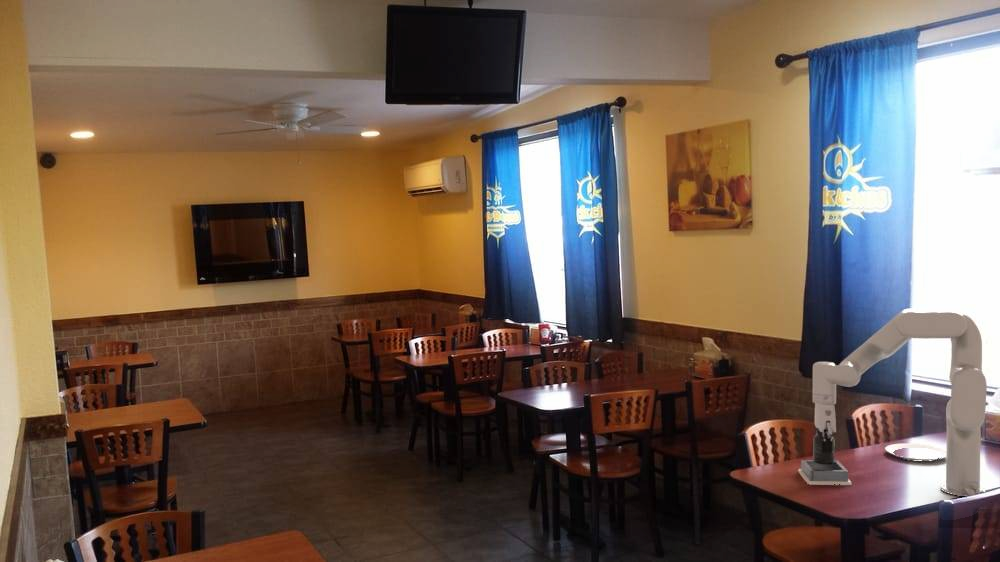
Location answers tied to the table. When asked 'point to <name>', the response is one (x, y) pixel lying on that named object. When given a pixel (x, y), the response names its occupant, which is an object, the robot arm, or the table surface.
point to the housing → (824, 473)
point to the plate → (906, 445)
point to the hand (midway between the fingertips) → (824, 448)
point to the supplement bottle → (818, 455)
